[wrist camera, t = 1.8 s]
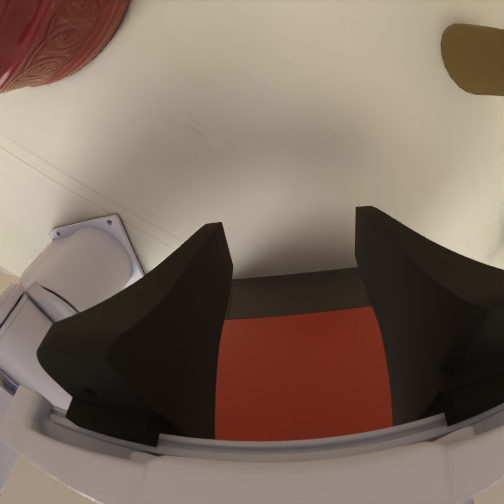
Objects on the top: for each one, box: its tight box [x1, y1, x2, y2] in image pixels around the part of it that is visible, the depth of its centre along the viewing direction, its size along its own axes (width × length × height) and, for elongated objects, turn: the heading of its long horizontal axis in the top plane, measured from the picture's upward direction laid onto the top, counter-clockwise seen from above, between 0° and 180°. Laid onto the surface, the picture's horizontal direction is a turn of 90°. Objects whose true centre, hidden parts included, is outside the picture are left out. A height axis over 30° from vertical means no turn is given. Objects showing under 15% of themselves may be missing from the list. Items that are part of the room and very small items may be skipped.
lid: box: [215, 306, 393, 441], centre depth 15 cm, size 12×13×1 cm
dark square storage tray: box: [225, 267, 372, 320], centre depth 26 cm, size 12×13×5 cm
